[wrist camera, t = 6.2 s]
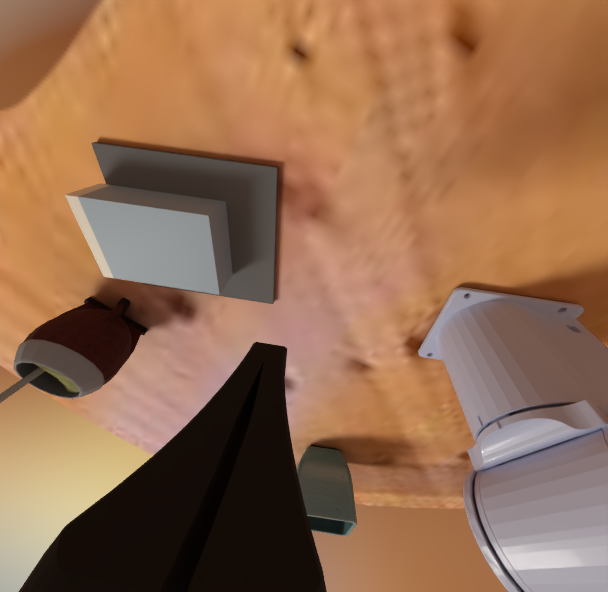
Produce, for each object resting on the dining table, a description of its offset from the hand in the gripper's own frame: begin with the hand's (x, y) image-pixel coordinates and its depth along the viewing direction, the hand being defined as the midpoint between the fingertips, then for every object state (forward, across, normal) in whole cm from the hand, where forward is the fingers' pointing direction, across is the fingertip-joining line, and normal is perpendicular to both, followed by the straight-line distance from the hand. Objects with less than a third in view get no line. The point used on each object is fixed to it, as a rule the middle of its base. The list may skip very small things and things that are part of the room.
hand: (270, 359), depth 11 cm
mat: (+10, +8, 0) cm, 13 cm away
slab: (+9, +6, 0) cm, 10 cm away
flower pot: (+11, -7, +36) cm, 38 cm away
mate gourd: (+11, +19, +11) cm, 24 cm away
